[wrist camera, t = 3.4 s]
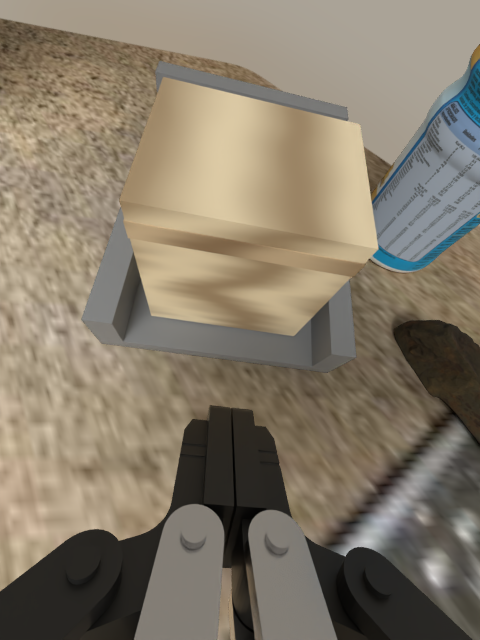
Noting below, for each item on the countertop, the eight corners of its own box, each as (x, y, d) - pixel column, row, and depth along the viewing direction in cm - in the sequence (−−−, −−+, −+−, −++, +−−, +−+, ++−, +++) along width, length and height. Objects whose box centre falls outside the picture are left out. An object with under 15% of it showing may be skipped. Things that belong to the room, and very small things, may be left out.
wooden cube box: (150, 316, 19) (117, 201, 10) (172, 224, 22) (162, 75, 13) (294, 337, 20) (379, 250, 11) (294, 246, 24) (361, 124, 15)
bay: (101, 343, 19) (67, 302, 14) (164, 134, 28) (159, 60, 23) (327, 372, 21) (375, 347, 16) (318, 168, 30) (347, 107, 25)
